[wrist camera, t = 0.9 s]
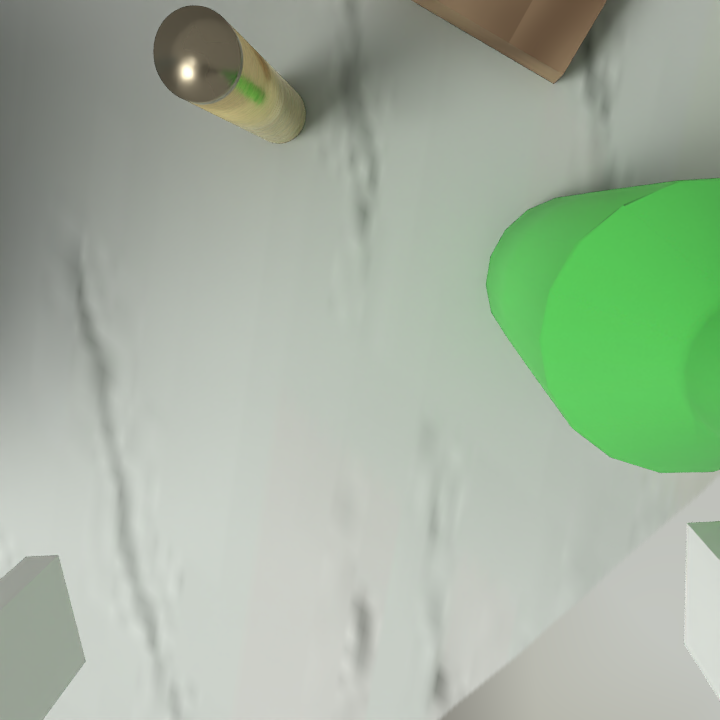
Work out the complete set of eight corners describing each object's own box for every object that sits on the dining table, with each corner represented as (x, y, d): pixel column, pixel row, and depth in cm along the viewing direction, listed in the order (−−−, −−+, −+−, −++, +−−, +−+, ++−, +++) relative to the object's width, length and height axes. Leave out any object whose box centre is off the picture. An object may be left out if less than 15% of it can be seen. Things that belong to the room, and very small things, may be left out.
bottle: (676, 224, 31) (1606, 253, 7) (612, 375, 33) (1134, 807, 9) (515, 175, 31) (854, 35, 7) (462, 329, 33) (576, 628, 9)
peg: (242, 126, 32) (140, 75, 20) (265, 73, 31) (174, -12, 19) (290, 153, 32) (216, 118, 20) (315, 101, 31) (253, 33, 20)
